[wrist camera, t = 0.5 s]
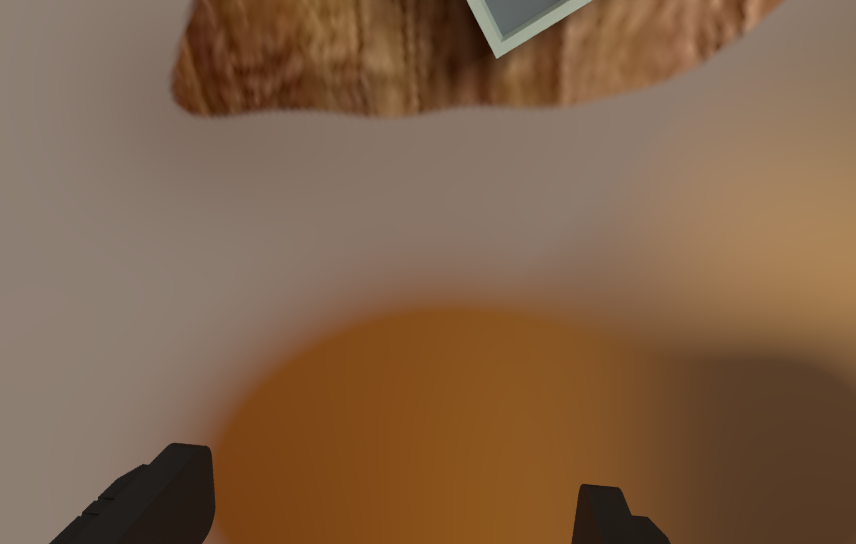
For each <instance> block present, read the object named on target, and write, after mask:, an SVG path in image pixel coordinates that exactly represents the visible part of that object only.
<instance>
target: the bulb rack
mask: <svg viewBox="0 0 856 544" xmlns="http://www.w3.org/2000/svg"><path fill="white" fill-rule="evenodd" d="M590 1H592V0H467V2H468V4H469V6H470V8H471V10H472V12H473V14H474V16H475V18H476V19H477V21H478V23H479V25H480V27H481V29H482V31H483V33H484V35H485V37H486V39H487V41H488V43H489V45H490V47H491V49H492V51H493V53H494V55H495V57H496V58H499V57H500V56H502V55H504V54H505V53H507V52H509V51H510V50H512V49H513V48H515V47H517V46H518V45H520V44H522V43H523V42H525V41H527V40H528V39H530V38H531V37H533V36H535V35H536V34H538V33H540V32H541V31H543V30H544V29H546V28H548V27H549V26H551V25H553V24H554V23H556V22H558V21H559V20H561V19H562V18H564V17H566V16H567V15H569V14H571V13H572V12H574V11H576V10H577V9H579V8H580V7H582V6H584V5H585V4H587V3H589V2H590Z"/></svg>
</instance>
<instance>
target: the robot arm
mask: <svg viewBox="0 0 856 544" xmlns="http://www.w3.org/2000/svg"><path fill="white" fill-rule="evenodd" d="M214 514H215V493H214V479H213V465H212V454H211V450H210V448H209V447H207V446H202V445H192V444H182V443H171V444H170V445H168V446H167V447H166V448H165V449H164V450H163V451H162V452H161V453H160V454H159V455H158V456H157V457H156V458H155V459H154V460H153V461H152V462H151V463H150V464H149V465H145V464H142V465H141V466H139V467H137V468H135V469H134V470H132V471H130V472H128V473H127V474H125V475H123V476H121V477H120V478H118V479H117V480H115V482H113V483H112V484H111V485H110V486H109V487H108V488H107V489H106V490H105V491H104V492H103V493H102V494H101V495H100V496H99V497H98V500H97V501H94V502H93V503H91V504H90V505H89V506H88V507H87V508H86V509H85V510H84V511H83V512H82V515H81V516H78V517H77V518H76V519H75V520H74V521H73V522H71V523H70V524H69V525H68V526H67V527H66V528H65V529H64V530H63V531H62V532H61V533H60V534H59V535H58V536H57V537H56V538H55V539H54V540H53V541H52V542H51V543H50V544H202V543H203V541H204V540H205V538H206V537H207V535H208V533H209V531H210V529H211V526H212V523H213V519H214ZM572 544H670V541H669V540H668V538H667V537H666V536H665V534H664V533H663V532H662V531H661V530H660V529H658V527H657V526H656V525H655V524H654V523H653V522H652V521H651V520H650V519H649V518H648V517H643V516H632V515H631V513H630V510H629V508H628V505H627V503H626V500H625V498H624V495H623V493H622V491H621V489H620V488H618V487H610V486H599V485H589V484H582V485H581V486H580V490H579V495H578V501H577V509H576V515H575V523H574V529H573V536H572Z"/></svg>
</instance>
